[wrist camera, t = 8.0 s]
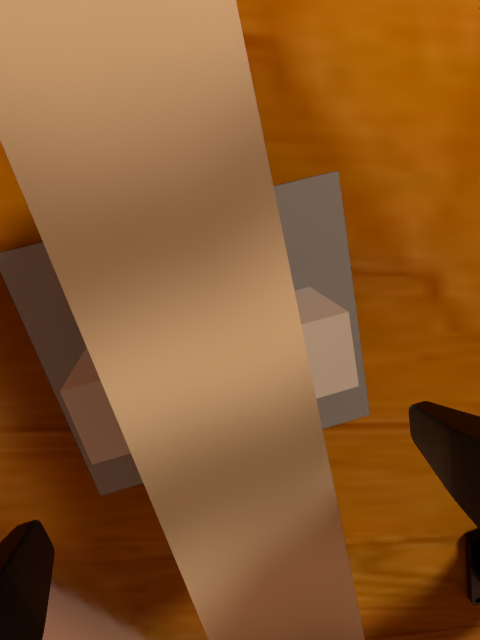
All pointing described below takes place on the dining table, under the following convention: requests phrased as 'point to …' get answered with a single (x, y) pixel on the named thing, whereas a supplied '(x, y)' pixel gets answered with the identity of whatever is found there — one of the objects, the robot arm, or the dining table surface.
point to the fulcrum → (313, 305)
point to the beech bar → (183, 294)
